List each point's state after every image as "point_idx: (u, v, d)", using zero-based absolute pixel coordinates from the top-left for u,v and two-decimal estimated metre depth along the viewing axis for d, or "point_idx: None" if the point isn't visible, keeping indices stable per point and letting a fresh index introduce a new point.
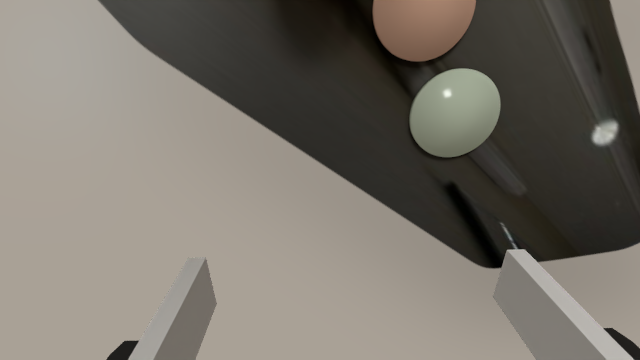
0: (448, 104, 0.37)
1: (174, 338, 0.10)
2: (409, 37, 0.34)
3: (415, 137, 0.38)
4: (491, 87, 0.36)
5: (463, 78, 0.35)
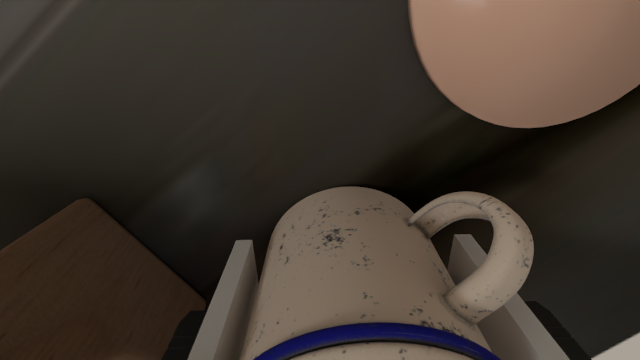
0: None
1: (236, 307, 0.11)
2: (634, 22, 0.11)
3: None
4: None
5: None
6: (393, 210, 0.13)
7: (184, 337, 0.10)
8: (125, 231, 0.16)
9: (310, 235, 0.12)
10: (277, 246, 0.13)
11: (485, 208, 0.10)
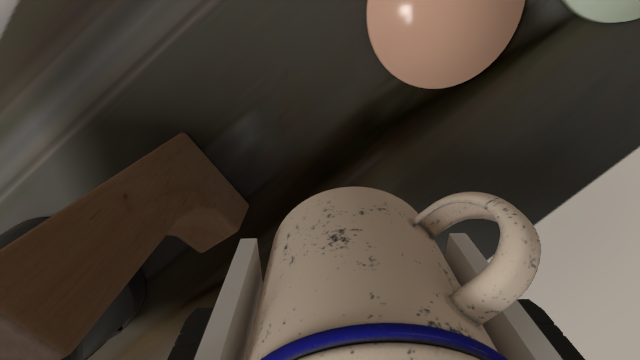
0: None
1: (241, 305, 0.11)
2: (481, 31, 0.22)
3: None
4: None
5: None
6: (397, 210, 0.13)
7: (191, 334, 0.10)
8: (204, 154, 0.26)
9: (315, 235, 0.12)
10: (282, 246, 0.13)
11: (491, 209, 0.10)
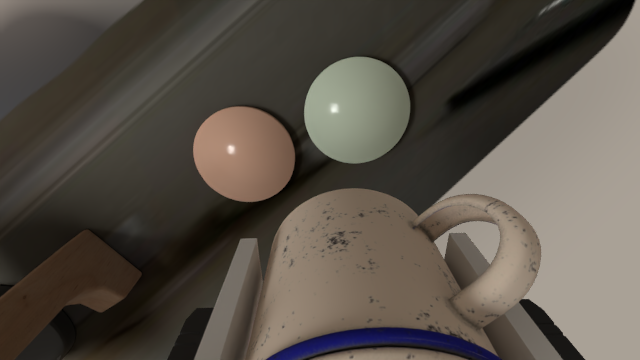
0: (342, 123, 0.31)
1: (242, 305, 0.11)
2: (272, 169, 0.33)
3: (377, 156, 0.33)
4: (327, 73, 0.29)
5: (314, 109, 0.31)
6: (397, 212, 0.13)
7: (191, 334, 0.10)
8: (103, 242, 0.38)
9: (314, 238, 0.12)
10: (281, 248, 0.13)
11: (490, 212, 0.10)
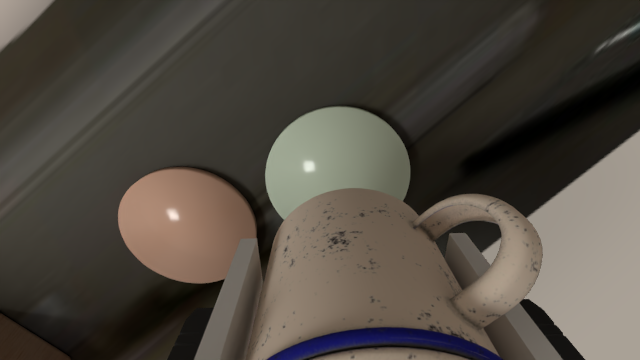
0: (318, 191, 0.23)
1: (241, 305, 0.11)
2: (225, 246, 0.25)
3: None
4: (295, 129, 0.21)
5: (279, 174, 0.22)
6: (398, 212, 0.13)
7: (191, 334, 0.10)
8: (16, 325, 0.30)
9: (315, 237, 0.12)
10: (282, 248, 0.13)
11: (492, 211, 0.10)
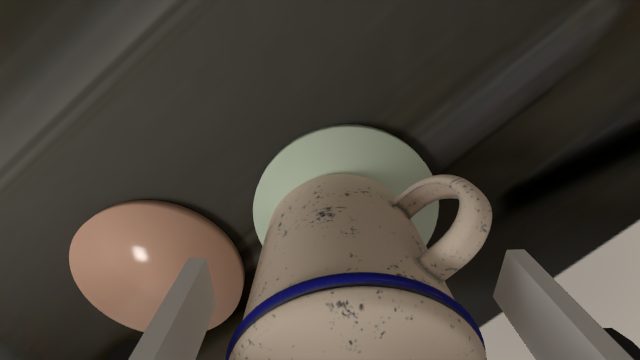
0: None
1: (175, 337, 0.10)
2: None
3: None
4: (291, 154, 0.16)
5: (271, 211, 0.18)
6: (379, 194, 0.15)
7: None
8: None
9: (305, 213, 0.13)
10: (276, 224, 0.14)
11: (454, 186, 0.11)
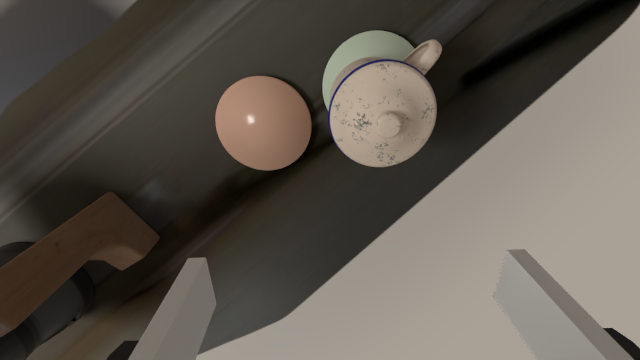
0: None
1: (175, 338, 0.10)
2: (288, 139, 0.35)
3: None
4: (346, 46, 0.31)
5: (332, 81, 0.32)
6: None
7: None
8: None
9: (358, 63, 0.28)
10: (341, 74, 0.29)
11: (427, 42, 0.26)
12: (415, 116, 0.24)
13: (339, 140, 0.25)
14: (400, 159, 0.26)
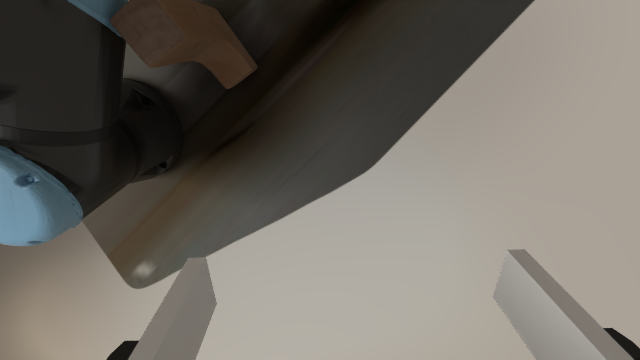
0: None
1: (174, 338, 0.10)
2: None
3: None
4: None
5: None
6: None
7: None
8: None
9: None
10: None
11: None
12: None
13: None
14: None
